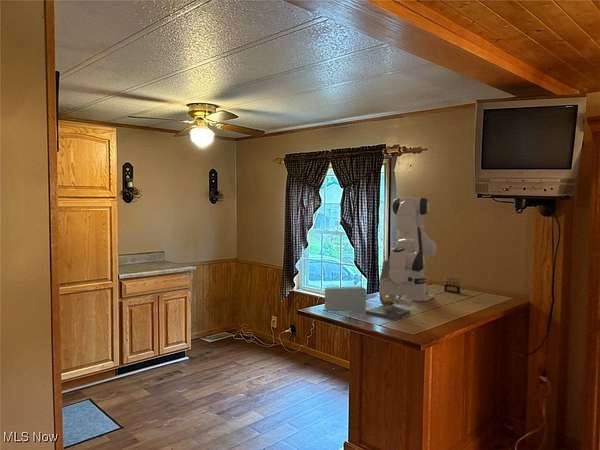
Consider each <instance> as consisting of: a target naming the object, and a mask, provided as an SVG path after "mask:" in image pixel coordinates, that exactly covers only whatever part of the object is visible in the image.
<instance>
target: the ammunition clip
mask: <svg viewBox="0 0 600 450" xmlns="http://www.w3.org/2000/svg"><path fill="white" fill-rule="evenodd" d="M443 288H444V292H445V293H452V294H453V293H454V294H461V277H460V276H457V275H456V276H455V275H450V274H448V275H447V274H445V279H444V287H443Z"/></svg>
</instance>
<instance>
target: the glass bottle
mask: <svg viewBox="0 0 600 450" xmlns="http://www.w3.org/2000/svg"><path fill="white" fill-rule="evenodd" d="M389 271H390V265H389V259H386V260H384V261H383V262H382V268H381V272H380V277H379V282H380V281H381V280H382V279H387V278H389ZM395 298H397V296H396V297H395ZM379 301H380V304H382V305H384V306H385V304H383V303H382V296H381V295H380V294H379ZM394 305H395V304H392V306H394Z"/></svg>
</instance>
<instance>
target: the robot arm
mask: <svg viewBox="0 0 600 450" xmlns="http://www.w3.org/2000/svg"><path fill="white" fill-rule="evenodd" d="M392 201H393V202H392V205H391V207H392V208H391V209H392V212H393V214H395V215H396V219H395V228H396V229H397V231H398V232H400V233H401V234H403V235H405V236H408V237H409V238H406V237H405V238H400V239H398V240H397V241H396V243H395V247H393V248H391V249H390V253H389V254H390V255H389V258H388V260H389V265H390V271H389V278H387V279H382V280H381V281H380V280H379V287H378V288H379V289H378V294H379V296H380V295H381V296H392V298H393V300H394V303H395V304H394V305H397V304H396V303H400V300H401V299H407V300H412V302H413V301H414V302H415V301H416V302H420V301H421V302H423V301H424V302H428V301H430V300H432V299H433V298H434V295H433V294H430V292H431V291H430V287H429V286H428V285H427V284H426V281H427V276H425V275H424V274H425V266H426V259H425V257H432V256H434V255H435V254H436V252H437V244H436V242H435V241H434V240H432V239H431V238H430V237H429V236H428V235H427V233H426V231H425V230H426V229H425V224H424V215H427V214H429V211H430V208H431V207H430V202H429V200H428V199H427V198H426V197H417V196H416V197H415V196H412V197H396V198H395V199H394V200H392ZM395 297H396V298H398V300H396V298H395Z"/></svg>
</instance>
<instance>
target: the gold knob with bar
mask: <svg viewBox="0 0 600 450" xmlns="http://www.w3.org/2000/svg"><path fill="white" fill-rule="evenodd" d="M396 300H398V297H396ZM382 303H383V304H394V305H401V306H405V307H412V306H413V300H407V299H404V298H401V300H400V303H396V304H395V303H394V300H393V298H392V296H382ZM382 303H381V304H382ZM383 304H382V305H383Z"/></svg>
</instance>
